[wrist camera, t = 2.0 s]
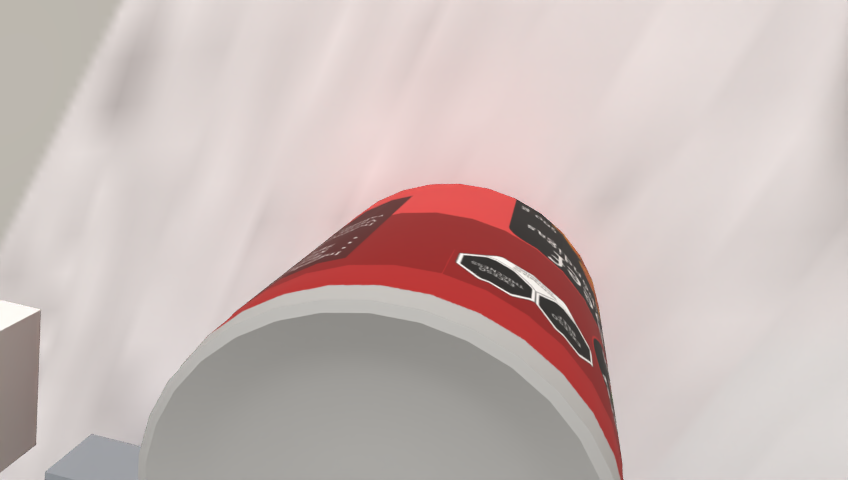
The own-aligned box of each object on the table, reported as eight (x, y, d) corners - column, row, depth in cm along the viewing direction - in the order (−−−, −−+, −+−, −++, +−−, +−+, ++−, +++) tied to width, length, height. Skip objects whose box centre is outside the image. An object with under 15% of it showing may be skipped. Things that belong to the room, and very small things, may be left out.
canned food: (598, 435, 23) (626, 762, 12) (334, 423, 24) (159, 709, 14) (601, 175, 21) (637, 300, 11) (317, 179, 23) (100, 292, 12)
